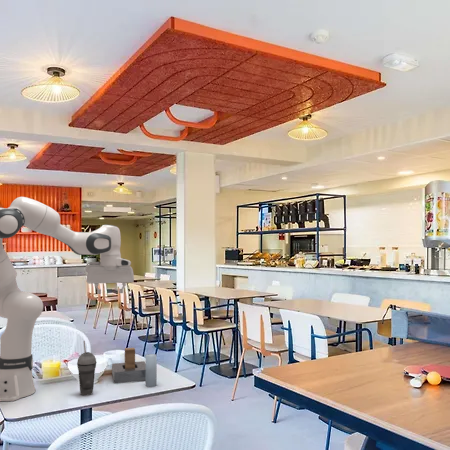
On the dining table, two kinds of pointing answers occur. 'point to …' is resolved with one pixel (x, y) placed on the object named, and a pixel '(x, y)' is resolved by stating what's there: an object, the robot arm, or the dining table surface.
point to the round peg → (151, 370)
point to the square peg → (129, 358)
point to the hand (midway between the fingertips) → (110, 293)
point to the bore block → (129, 372)
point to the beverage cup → (86, 372)
